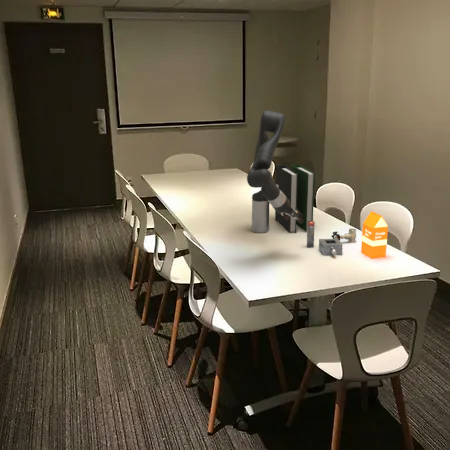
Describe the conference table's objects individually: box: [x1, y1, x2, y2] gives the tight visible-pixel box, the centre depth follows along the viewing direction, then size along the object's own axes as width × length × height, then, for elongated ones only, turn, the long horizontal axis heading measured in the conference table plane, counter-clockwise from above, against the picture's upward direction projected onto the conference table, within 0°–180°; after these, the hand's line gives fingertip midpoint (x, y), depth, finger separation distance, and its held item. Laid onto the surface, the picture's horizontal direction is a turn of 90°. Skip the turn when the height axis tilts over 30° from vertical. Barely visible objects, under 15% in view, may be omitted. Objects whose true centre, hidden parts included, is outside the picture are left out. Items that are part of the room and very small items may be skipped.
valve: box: [331, 227, 357, 244], centre depth 243 cm, size 7×7×12 cm
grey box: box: [318, 238, 343, 256], centre depth 228 cm, size 9×13×5 cm
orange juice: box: [360, 210, 389, 259], centre depth 224 cm, size 8×9×20 cm
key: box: [306, 220, 316, 249], centre depth 237 cm, size 3×3×13 cm
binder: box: [274, 164, 316, 234], centre depth 268 cm, size 27×15×32 cm, turn 9°
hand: (295, 220), depth 227 cm, fingers open, 8 cm apart
